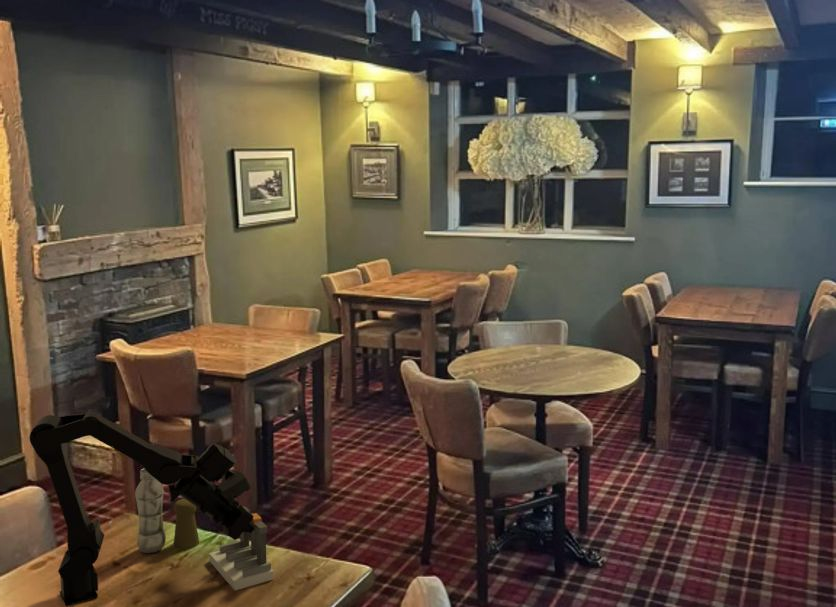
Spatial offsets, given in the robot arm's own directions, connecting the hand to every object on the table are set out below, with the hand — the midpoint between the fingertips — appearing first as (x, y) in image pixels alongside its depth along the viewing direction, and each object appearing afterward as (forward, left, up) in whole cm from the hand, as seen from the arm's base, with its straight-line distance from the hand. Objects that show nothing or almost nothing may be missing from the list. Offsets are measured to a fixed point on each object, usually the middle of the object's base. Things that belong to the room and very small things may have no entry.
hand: (252, 530), depth 182 cm
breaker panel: (-3, 0, -9) cm, 9 cm away
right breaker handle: (0, -5, -7) cm, 8 cm away
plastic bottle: (-17, +21, -9) cm, 29 cm away
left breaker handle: (0, +5, -7) cm, 8 cm away
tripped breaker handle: (+1, 0, -7) cm, 7 cm away
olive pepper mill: (-9, +20, -9) cm, 24 cm away
